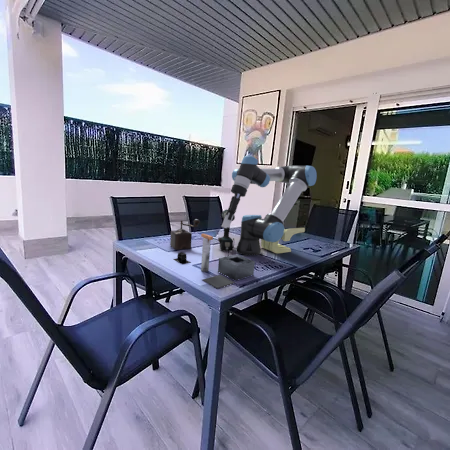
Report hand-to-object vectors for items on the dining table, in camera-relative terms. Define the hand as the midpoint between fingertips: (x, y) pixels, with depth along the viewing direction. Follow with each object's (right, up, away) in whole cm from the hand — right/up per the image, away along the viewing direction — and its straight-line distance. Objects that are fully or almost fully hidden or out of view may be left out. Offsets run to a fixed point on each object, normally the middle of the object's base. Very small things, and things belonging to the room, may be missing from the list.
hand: (224, 227), depth 126 cm
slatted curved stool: (+33, -15, +44) cm, 57 cm away
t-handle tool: (-10, -21, -1) cm, 23 cm away
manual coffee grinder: (-25, -13, +35) cm, 45 cm away
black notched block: (-23, -18, +10) cm, 31 cm away
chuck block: (+5, -22, -2) cm, 23 cm away
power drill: (+1, -15, +35) cm, 38 cm away
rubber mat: (-3, -24, -13) cm, 27 cm away
